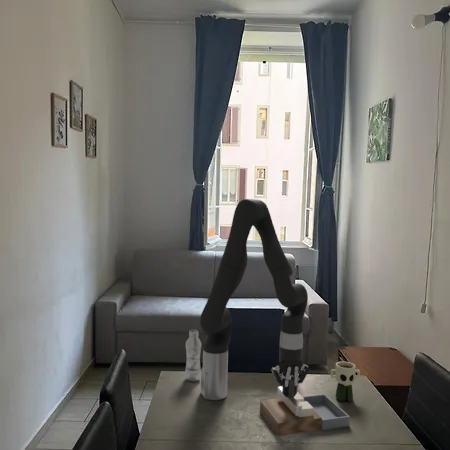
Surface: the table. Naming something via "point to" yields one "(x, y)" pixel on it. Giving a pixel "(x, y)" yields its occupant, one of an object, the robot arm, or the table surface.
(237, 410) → the table surface
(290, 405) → the bar
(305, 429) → the walnut plate
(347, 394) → the character mug
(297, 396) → the cream tile
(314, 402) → the box
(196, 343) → the plastic bottle
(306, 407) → the cream tile
